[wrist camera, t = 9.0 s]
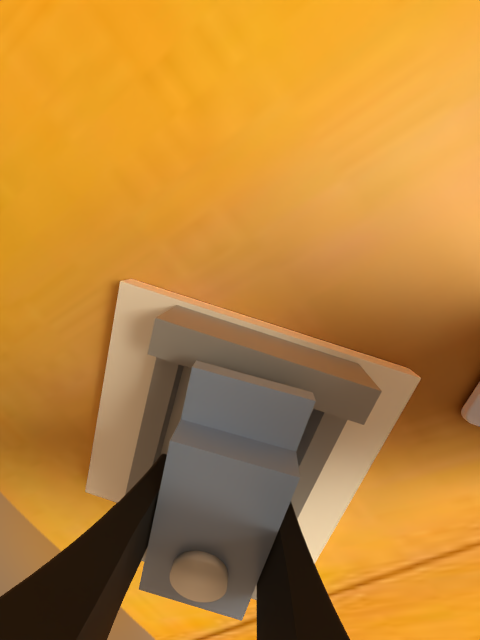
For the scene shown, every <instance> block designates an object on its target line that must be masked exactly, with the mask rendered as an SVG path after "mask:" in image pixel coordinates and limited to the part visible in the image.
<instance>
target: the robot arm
mask: <svg viewBox="0 0 480 640" xmlns="http://www.w3.org/2000/svg"><path fill="white" fill-rule="evenodd" d="M461 415H462V417H463V418H464V419H465V420H466V421H468V422H469V423H471V424H473V425H476V426H479V427H480V382H479V383H478V385H477V387H476V388H475V390H474V391H473V393H472V394H471V396H470V397H469V399H468V400H467V402H466V403H465V405H464V406H463V408H462V410H461ZM166 457H167V454H162V455H160V457H159V458H158V459H157V461H156V462H155V463H154V464H153V465H152V467H151V468H150V469H149V470H148V471H147V472H146V474H145V475H144V476H143V477H142V478H141V479H140V480H139V481H138V482H137V483H136V484H135V485H134V486H133V487H132V489H131V490H130V491H129V492H128V493H127V494H126V495H125V496H124V497H123V498H122V499H121V500H120V501H119V502H118V503H117V504H116V505H114V506H113V507H112V508H111V509H110V510H109V511H108V512H107V513H106V514H105V515H104V516H103V517H102V518H101V519H100V520H98V521H97V522H96V523H95V524H94V525H93V526H92V527H91V528H89V529H88V530H87V531H86V532H85V533H84V534H82V535H81V536H80V537H79V538H78V539H76V540H75V541H74V542H73V543H72V544H70V545H69V546H68V547H67V548H65V549H64V550H63V551H62V552H60V553H59V554H58V555H57V556H55V557H54V558H53V559H51V560H50V561H49V562H48V563H46V564H45V565H44V566H42V567H41V568H40V569H38V570H37V571H36V572H34V573H33V574H32V575H30V576H29V577H28V578H26V579H25V580H23V581H22V582H21V583H19V584H18V585H16V586H15V587H14V588H12V589H11V590H9V591H8V592H7V593H5V594H4V595H2V596H1V597H0V640H107V638H108V635H109V633H110V630H111V628H112V625H113V623H114V620H115V618H116V615H117V613H118V610H119V608H120V606H121V603H122V601H123V599H124V596H125V594H126V592H127V590H128V588H129V586H130V583H131V581H132V579H133V577H134V575H135V573H136V571H137V568H138V566H139V564H140V562H141V560H142V558H143V556H144V553H145V551H146V549H147V547H148V543H149V538H150V534H151V529H152V524H153V519H154V515H155V510H156V505H157V500H158V495H159V491H160V486H161V481H162V476H163V471H164V467H165V462H166ZM257 640H350V639H349V637H348V635H347V633H346V631H345V629H344V627H343V625H342V623H341V621H340V619H339V617H338V615H337V613H336V611H335V609H334V607H333V604H332V602H331V600H330V598H329V596H328V594H327V592H326V589H325V587H324V585H323V583H322V580H321V578H320V576H319V573H318V571H317V569H316V566H315V564H314V562H313V559H312V557H311V554H310V552H309V549H308V547H307V544H306V541H305V539H304V536H303V534H302V531H301V528H300V525H299V523H298V520H297V517H296V514H295V511H294V508H293V505H292V502H291V501H290V504H289V506H288V509H287V511H286V514H285V516H284V519H283V521H282V523H281V526H280V528H279V531H278V533H277V536H276V538H275V541H274V543H273V545H272V548H271V550H270V553H269V555H268V558H267V560H266V563H265V565H264V567H263V570H262V572H261V575H260V577H259V580H258V582H257Z"/></svg>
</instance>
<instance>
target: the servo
mask: <svg viewBox="0 0 480 640" xmlns="http://www.w3.org/2000/svg"><path fill="white" fill-rule="evenodd" d="M315 402H316V400H315V397H314V394H313V392H309V391H306V390H302V389H299V388H295V387H291V386H288V385H284V384H280V383H277V382H273V381H269V380H266V379H262V378H259V377H255V376H251V375H248V374H244V373H240V372H237V371H233V370H230V369H226V368H222V367H219V366H215V365H211V364H208V363H204V362H201V361H197V360H196V362H195V363H194V365H193V366H192V370H191V375H190V379H189V384H188V388H187V393H186V398H185V402H184V407H183V411H182V416H181V420H180V422H179V424H178V426H177V428H176V430H175V432H174V434H173V436H172V438H171V439H170V443H169V448H168V452H167V457H166V462H165V467H164V471H163V476H162V481H161V486H160V491H159V495H158V500H157V505H156V510H155V515H154V519H153V524H152V529H151V534H150V538H149V543H148V548H147V553H146V558H145V562H144V567H143V572H142V577H141V582H140V586H139V590H142V591H146V592H149V593H152V594H156V595H159V596H162V597H166V598H169V599H172V600H176V601H179V602H182V603H185V604H189V605H192V606H195V607H199V608H202V609H205V610H209V611H212V612H215V613H218V614H222V615H225V616H228V617H232V618H235V619H238V620H242V619H243V616H244V614H245V611H246V609H247V607H248V604H249V602H250V599H251V597H252V594H253V592H254V589H255V587H256V585H257V582H258V580H259V577H260V575H261V572H262V570H263V567H264V565H265V563H266V560H267V558H268V555H269V553H270V550H271V548H272V545H273V543H274V541H275V538H276V536H277V533H278V531H279V528H280V526H281V523H282V521H283V519H284V516H285V514H286V511H287V509H288V506H289V504H290V501H291V499H292V497H293V494H294V492H295V489H296V487H297V484H298V482H299V480H300V473H299V467H298V460H297V454H296V451H297V448H298V446H299V443H300V440H301V438H302V435H303V433H304V430H305V428H306V425H307V422H308V420H309V417H310V415H311V412H312V410H313V407H314V404H315Z"/></svg>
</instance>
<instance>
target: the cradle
mask: <svg viewBox="0 0 480 640" xmlns="http://www.w3.org/2000/svg"><path fill="white" fill-rule="evenodd" d="M196 360H197V361H201V362H204V363H208V364H211V365H215V366H219V367H222V368H226V369H230V370H233V371H237V372H240V373H244V374H248V375H251V376H255V377H259V378H262V379H266V380H269V381H273V382H277V383H280V384H284V385H288V386H291V387H295V388H299V389H302V390H306V391H309V392H313V394H314V397H315V400H316V402H315V404H314V407H313V410H312V412H311V415H310V417H309V420H308V422H307V425H306V428H305V430H304V433H303V435H302V438H301V440H300V443H299V446H298V448H297V451H296V454H297V460H298V467H299V473H300V480H299V482H298V484H297V487H296V489H295V492H294V494H293V497H292V499H291V502H292V505H293V508H294V511H295V514H296V517H297V520H298V523H299V525H300V528H301V531H302V534H303V536H304V539H305V541H306V544H307V547H308V549H309V552H310V554H311V557H312V559H313V562H314V564H315V562H316V560H317V559H318V557H319V555H320V553H321V552H322V550H323V548H324V546H325V545H326V543H327V541H328V540H329V538H330V536H331V534H332V533H333V531H334V529H335V527H336V526H337V524H338V522H339V520H340V519H341V517H342V515H343V513H344V512H345V510H346V508H347V507H348V505H349V503H350V501H351V500H352V498H353V496H354V494H355V493H356V491H357V489H358V487H359V486H360V484H361V482H362V480H363V479H364V477H365V475H366V474H367V472H368V470H369V468H370V467H371V465H372V463H373V461H374V460H375V458H376V456H377V454H378V453H379V451H380V449H381V447H382V446H383V444H384V442H385V441H386V439H387V437H388V435H389V434H390V432H391V430H392V428H393V427H394V425H395V423H396V421H397V420H398V418H399V416H400V414H401V413H402V411H403V409H404V408H405V406H406V404H407V402H408V401H409V399H410V397H411V395H412V394H413V392H414V390H415V388H416V387H417V385H418V383H419V381H420V380H421V378H420V377H419V376H418V375H417V374H415V373H414V372H413V371H412V370H410V369H409V368H407V367H404V366H401V365H397V364H394V363H391V362H388V361H385V360H382V359H379V358H376V357H373V356H370V355H366V354H363V353H360V352H357V351H354V350H351V349H348V348H345V347H342V346H339V345H335V344H332V343H329V342H326V341H323V340H320V339H317V338H314V337H311V336H308V335H304V334H301V333H298V332H295V331H292V330H289V329H286V328H283V327H280V326H277V325H273V324H270V323H267V322H264V321H261V320H258V319H255V318H252V317H249V316H246V315H242V314H239V313H236V312H233V311H230V310H227V309H224V308H221V307H218V306H215V305H211V304H208V303H205V302H202V301H199V300H196V299H193V298H190V297H187V296H184V295H180V294H177V293H174V292H171V291H168V290H165V289H162V288H159V287H156V286H153V285H149V284H146V283H143V282H140V281H137V280H134V279H128V280H123V281H120V285H119V291H118V297H117V303H116V309H115V315H114V322H113V328H112V334H111V340H110V346H109V352H108V358H107V364H106V370H105V376H104V382H103V388H102V394H101V400H100V406H99V412H98V418H97V424H96V430H95V436H94V442H93V448H92V454H91V460H90V466H89V472H88V478H87V484H86V490H85V492H87V493H90V494H93V495H96V496H99V497H102V498H105V499H108V500H111V501H113V502H116V503H118V502H119V501H120V500H121V499H122V498H123V497H124V496H125V495H126V494H127V493H128V492H129V491H130V490H131V489H132V487H133V486H134V485H135V484H136V483H137V482H138V481H139V480H140V479H141V478H142V477H143V476H144V475H145V474H146V472H147V471H148V470H149V469H150V468H151V467H152V465H153V464H154V463H155V462H156V461H157V459H158V458H159V457H160V455H162V454H167V452H168V448H169V443H170V439H171V438H172V436H173V434H174V432H175V430H176V428H177V426H178V424H179V422H180V420H181V416H182V411H183V407H184V402H185V398H186V393H187V388H188V384H189V379H190V375H191V370H192V366H193V365H194V363H195V362H196ZM147 548H148V547H147ZM146 553H147V549H146V551H145V553H144V556H143V558H142V560H141V561H144V562H145V558H146ZM251 598H252V599H255V600H257V585H256V587H255V589H254V592H253V594H252V597H251Z"/></svg>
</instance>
